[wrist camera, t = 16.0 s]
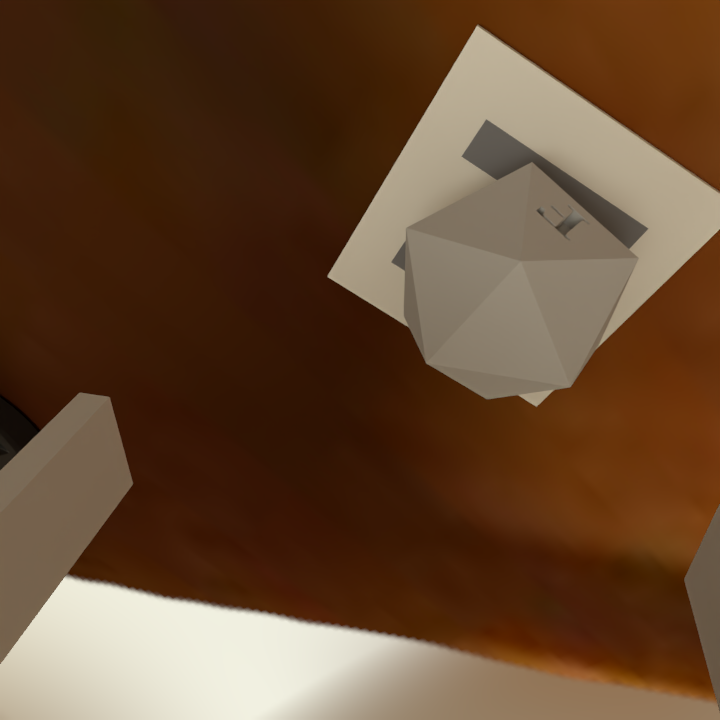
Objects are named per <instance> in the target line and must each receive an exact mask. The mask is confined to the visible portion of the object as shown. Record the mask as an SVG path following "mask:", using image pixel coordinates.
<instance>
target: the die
mask: <svg viewBox="0 0 720 720" xmlns="http://www.w3.org/2000/svg"><path fill="white" fill-rule="evenodd" d="M638 259H639V258H638V257H637V256H636V255H635V254H634V253H633V252H632V251H630V250H629V249H628V248H627V247H626V246H625V245H624V244H623V243H622V242H620V241H619V240H618V239H617V238H616V237H615V236H614V235H613V234H612V233H610V232H609V231H608V230H607V229H606V228H605V227H604V226H603V225H602V224H600V223H599V222H598V221H597V220H596V219H595V218H594V217H593V216H592V215H590V214H589V213H588V212H587V211H586V210H585V209H584V208H583V207H582V206H580V205H579V204H578V203H577V202H576V201H575V200H574V199H573V198H572V197H570V196H569V195H568V194H567V193H566V192H565V191H564V190H563V189H562V188H560V187H559V186H558V185H557V184H556V183H555V182H554V181H553V180H552V179H550V178H549V177H548V176H547V175H546V174H545V173H544V172H543V171H542V170H540V169H539V168H538V167H537V166H536V165H535V164H534V163H533V162H531V163H529V164H527V165H525V166H524V167H522V168H520V169H518V170H516V171H514V172H512V173H510V174H508V175H506V176H504V177H503V178H501V179H499V180H497V181H495V182H493V183H491V184H489V185H487V186H485V187H483V188H481V189H480V190H478V191H476V192H474V193H472V194H470V195H468V196H466V197H464V198H462V199H460V200H459V201H457V202H455V203H453V204H451V205H449V206H447V207H445V208H443V209H441V210H439V211H437V212H436V213H434V214H432V215H430V216H428V217H426V218H424V219H422V220H420V221H418V222H416V223H414V224H413V225H411V226H409V227H407V228H406V249H405V284H404V318H405V320H406V322H407V324H408V326H409V328H410V330H411V332H412V335H413V337H414V339H415V341H416V343H417V345H418V347H419V349H420V351H421V353H422V356H423V358H424V360H425V362H426V363H427V364H428V365H430V366H432V367H433V368H435V369H437V370H438V371H440V372H442V373H443V374H445V375H447V376H448V377H450V378H452V379H453V380H455V381H457V382H459V383H460V384H462V385H464V386H465V387H467V388H469V389H470V390H472V391H474V392H475V393H477V394H479V395H480V396H482V397H484V398H485V399H493V398H500V397H507V396H514V395H521V394H527V393H534V392H541V391H548V390H555V389H562V388H569V387H571V386H572V384H573V383H574V381H575V380H576V378H577V377H578V375H579V374H580V372H581V371H582V369H583V368H584V366H585V365H586V363H587V362H588V360H589V359H590V357H591V356H592V354H593V353H594V351H595V350H596V348H597V347H598V345H599V343H600V341H601V339H602V337H603V334H604V332H605V330H606V328H607V326H608V324H609V321H610V319H611V317H612V315H613V313H614V311H615V308H616V306H617V304H618V302H619V300H620V298H621V295H622V293H623V291H624V289H625V287H626V285H627V283H628V280H629V278H630V276H631V274H632V272H633V270H634V267H635V265H636V263H637V261H638Z"/></svg>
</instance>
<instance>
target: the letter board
mask: <svg viewBox="0 0 720 720" xmlns="http://www.w3.org/2000/svg"><path fill="white" fill-rule="evenodd" d="M531 162H533V163H534V164H535V165H536V166H537V167H538V168H539V169H540V170H542V171H543V172H544V173H545V174H546V175H547V176H548V177H549V178H550V179H552V180H553V181H554V182H555V183H556V184H557V185H558V186H559V187H560V188H562V189H563V190H564V191H565V192H566V193H567V194H568V195H569V196H570V197H572V198H573V199H574V200H575V201H576V202H577V203H578V204H579V205H580V206H582V207H583V208H584V209H585V210H586V211H587V212H588V213H589V214H590V215H592V216H593V217H594V218H595V219H596V220H597V221H598V222H599V223H600V224H602V225H603V226H604V227H605V228H606V229H607V230H608V231H609V232H610V233H612V234H613V235H614V236H615V237H616V238H617V239H618V240H619V241H620V242H622V243H623V244H624V245H625V246H626V247H627V248H628V249H629V250H630V251H632V252H633V253H634V254H635V255H636V256H637V257H638V258H639V259H638V261H637V263H636V265H635V267H634V270H633V272H632V274H631V276H630V278H629V280H628V283H627V285H626V287H625V289H624V291H623V293H622V295H621V298H620V300H619V302H618V304H617V306H616V308H615V311H614V313H613V315H612V317H611V319H610V321H609V324H608V326H607V328H606V330H605V332H604V334H603V337H602V339H601V341H600V343H599V345H598V347H599V346H600V345H601V344H602V343H603V342H604V341H605V340H606V339H607V338H608V337H609V336H610V335H611V334H612V333H613V332H614V331H615V330H616V329H617V328H618V327H619V326H620V325H622V324H623V323H624V322H625V321H626V320H627V319H628V318H629V317H630V316H631V315H632V314H633V313H634V312H635V311H636V310H637V309H638V308H639V307H640V306H641V305H642V304H643V303H644V302H645V301H646V300H647V299H648V298H649V297H650V296H651V295H652V294H653V293H655V292H656V291H657V290H658V289H659V288H660V287H661V286H662V285H663V284H664V283H665V282H666V281H667V280H668V279H669V278H670V277H671V276H672V275H673V274H674V273H675V272H676V271H677V270H678V269H679V268H680V267H681V266H682V265H683V264H684V263H685V262H686V261H687V260H689V259H690V258H691V257H692V256H693V255H694V254H695V253H696V252H697V251H698V250H699V249H700V248H701V247H702V246H703V245H704V244H705V243H706V242H707V241H708V240H709V239H710V238H711V237H712V236H713V235H714V234H715V233H716V232H717V231H718V230H719V229H720V192H719V191H718V190H716V189H715V188H714V187H712V186H711V185H709V184H708V183H706V182H705V181H703V180H702V179H701V178H699V177H698V176H696V175H695V174H693V173H692V172H690V171H689V170H688V169H686V168H685V167H683V166H682V165H680V164H679V163H677V162H676V161H675V160H673V159H672V158H670V157H669V156H667V155H666V154H664V153H663V152H662V151H660V150H659V149H657V148H656V147H654V146H653V145H651V144H650V143H649V142H647V141H646V140H644V139H643V138H641V137H640V136H639V135H637V134H636V133H634V132H633V131H631V130H630V129H628V128H627V127H626V126H624V125H623V124H621V123H620V122H618V121H617V120H615V119H614V118H613V117H611V116H610V115H608V114H607V113H605V112H604V111H602V110H601V109H600V108H598V107H597V106H595V105H594V104H592V103H591V102H589V101H588V100H587V99H585V98H584V97H582V96H581V95H579V94H578V93H576V92H575V91H574V90H572V89H571V88H569V87H568V86H566V85H565V84H563V83H562V82H561V81H559V80H558V79H556V78H555V77H553V76H552V75H550V74H549V73H548V72H546V71H545V70H543V69H542V68H540V67H539V66H537V65H536V64H535V63H533V62H532V61H530V60H529V59H527V58H526V57H525V56H523V55H522V54H520V53H519V52H517V51H516V50H514V49H513V48H512V47H510V46H509V45H507V44H506V43H504V42H503V41H501V40H500V39H499V38H497V37H496V36H494V35H493V34H491V33H490V32H488V31H487V30H486V29H484V28H483V27H481V26H480V25H477V27H476V28H475V30H474V32H473V33H472V35H471V37H470V38H469V40H468V42H467V44H466V45H465V47H464V49H463V50H462V52H461V54H460V55H459V57H458V59H457V60H456V62H455V64H454V65H453V67H452V69H451V70H450V72H449V74H448V75H447V77H446V79H445V80H444V82H443V84H442V85H441V87H440V89H439V90H438V92H437V94H436V95H435V97H434V99H433V100H432V102H431V104H430V105H429V107H428V109H427V110H426V112H425V114H424V115H423V117H422V119H421V120H420V122H419V124H418V126H417V127H416V129H415V131H414V132H413V134H412V136H411V137H410V139H409V141H408V142H407V144H406V146H405V147H404V149H403V151H402V152H401V154H400V156H399V157H398V159H397V161H396V162H395V164H394V166H393V167H392V169H391V171H390V172H389V174H388V176H387V177H386V179H385V181H384V182H383V184H382V186H381V187H380V189H379V191H378V192H377V194H376V196H375V197H374V199H373V201H372V202H371V204H370V206H369V208H368V209H367V211H366V213H365V214H364V216H363V218H362V219H361V221H360V223H359V224H358V226H357V228H356V229H355V231H354V233H353V234H352V236H351V238H350V239H349V241H348V243H347V244H346V246H345V248H344V249H343V251H342V253H341V254H340V256H339V258H338V259H337V261H336V263H335V264H334V266H333V268H332V269H331V271H330V273H329V274H328V276H327V277H329V278H330V279H332V280H333V281H335V282H337V283H338V284H340V285H342V286H343V287H345V288H346V289H348V290H350V291H351V292H353V293H354V294H356V295H358V296H359V297H361V298H362V299H364V300H366V301H367V302H369V303H370V304H372V305H374V306H375V307H377V308H378V309H380V310H382V311H383V312H385V313H387V314H388V315H390V316H391V317H393V318H395V319H396V320H398V321H399V322H401V323H403V324H404V325H406V326H407V327H409V326H408V324H407V322H406V320H405V318H404V284H405V249H406V228H407V227H409V226H411V225H413V224H414V223H416V222H418V221H420V220H422V219H424V218H426V217H428V216H430V215H432V214H434V213H436V212H437V211H439V210H441V209H443V208H445V207H447V206H449V205H451V204H453V203H455V202H457V201H459V200H460V199H462V198H464V197H466V196H468V195H470V194H472V193H474V192H476V191H478V190H480V189H481V188H483V187H485V186H487V185H489V184H491V183H493V182H495V181H497V180H499V179H501V178H503V177H504V176H506V175H508V174H510V173H512V172H514V171H516V170H518V169H520V168H522V167H524V166H525V165H527V164H529V163H531ZM598 347H597V348H598ZM597 348H596V349H597ZM552 391H553V390H548V391H541V392H534V393H527V394H521V395H518V396H520V397H522V398H523V399H525V400H526V401H528V402H530V403H531V404H533V405H534V406H536V407H537V406H538V405H539V404H540V403H541V402H542V401H543V400H544V399H545V398H546V397H547V396H548V395H549V394H550V393H551V392H552Z"/></svg>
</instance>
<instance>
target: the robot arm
mask: <svg viewBox="0 0 720 720" xmlns="http://www.w3.org/2000/svg"><path fill="white" fill-rule="evenodd" d="M132 485H133V482H132V478H131V474H130V471H129V467H128V463H127V460H126V456H125V452H124V449H123V445H122V441H121V437H120V434H119V430H118V426H117V423H116V419H115V415H114V412H113V408H112V404H111V400H110V397H106V396H99V395H92V394H86V393H79V394H78V395H77V396H76V397H75V398H74V399H73V400H72V401H71V402H70V403H69V404H68V405H67V406H66V407H65V408H63V409H62V410H61V411H60V412H59V413H58V414H57V415H56V416H55V417H54V418H53V419H52V420H51V421H50V422H49V423H48V424H47V425H46V426H45V427H44V428H43V429H42V430H41V431H40V432H38V431H37V430H36V429H35V428H34V426H33V425H32V424H31V423H30V422H29V421H28V420H27V419H26V418H25V417H24V416H23V415H22V414H21V413H19V412H18V411H17V410H16V409H15V408H14V407H12V406H11V405H10V404H9V403H7V402H6V401H5V400H3V399H2V398H0V664H1V662H2V661H3V660H4V658H5V657H6V656H7V654H8V653H9V651H10V650H11V649H12V647H13V646H14V645H15V643H16V642H17V641H18V639H19V638H20V636H21V635H22V634H23V632H24V631H25V630H26V629H27V627H28V626H29V624H30V623H31V622H32V620H33V619H34V618H35V616H36V615H37V614H38V612H39V611H40V609H41V608H42V607H43V605H44V604H45V603H46V601H47V600H48V599H49V597H50V596H51V595H52V593H53V592H54V590H55V589H56V588H57V586H58V585H59V584H60V582H61V581H62V580H63V578H64V577H65V576H66V574H67V573H68V572H69V570H70V569H71V567H72V566H73V565H74V563H75V562H76V561H77V559H78V558H79V557H80V555H81V554H82V553H83V551H84V550H85V548H86V547H87V546H88V544H89V543H90V542H91V540H92V539H93V538H94V536H95V535H96V534H97V532H98V531H99V530H100V528H101V527H102V525H103V524H104V523H105V521H106V520H107V519H108V517H109V516H110V515H111V513H112V512H113V511H114V509H115V508H116V506H117V505H118V504H119V502H120V501H121V500H122V498H123V497H124V496H125V494H126V493H127V492H128V490H129V489H130V487H131V486H132ZM684 581H685V584H686V588H687V592H688V596H689V599H690V603H691V607H692V610H693V614H694V618H695V622H696V625H697V629H698V633H699V636H700V640H701V644H702V648H703V651H704V655H705V659H706V662H707V666H708V670H709V674H710V677H711V681H712V685H713V688H714V692H715V696H716V699H717V703H718V707H719V711H720V504H719V506H718V508H717V510H716V513H715V515H714V517H713V519H712V521H711V523H710V525H709V528H708V530H707V532H706V534H705V536H704V538H703V540H702V542H701V545H700V547H699V549H698V551H697V553H696V555H695V557H694V559H693V562H692V564H691V566H690V568H689V570H688V572H687V574H686V576H685V579H684Z"/></svg>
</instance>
